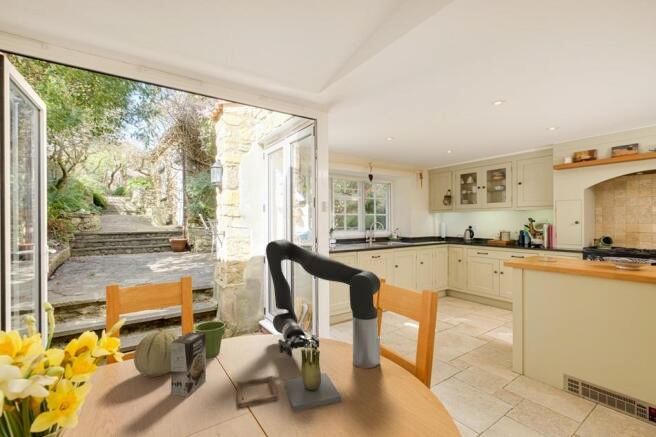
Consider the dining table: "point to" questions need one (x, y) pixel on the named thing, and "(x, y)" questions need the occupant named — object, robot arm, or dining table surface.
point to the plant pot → (211, 336)
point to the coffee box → (188, 363)
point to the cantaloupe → (154, 354)
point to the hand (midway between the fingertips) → (303, 351)
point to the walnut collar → (259, 399)
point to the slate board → (311, 393)
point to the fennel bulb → (311, 369)
